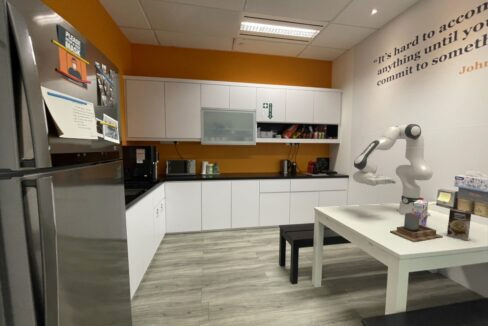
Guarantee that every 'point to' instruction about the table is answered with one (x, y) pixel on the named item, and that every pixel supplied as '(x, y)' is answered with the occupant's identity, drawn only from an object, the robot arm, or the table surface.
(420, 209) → the candy box
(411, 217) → the battery cell
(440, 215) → the table surface
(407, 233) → the walnut cell rack
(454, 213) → the coffee box
